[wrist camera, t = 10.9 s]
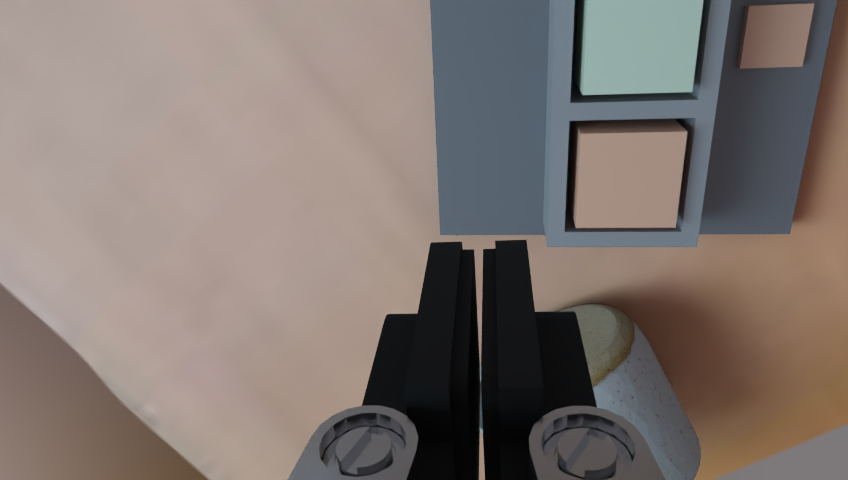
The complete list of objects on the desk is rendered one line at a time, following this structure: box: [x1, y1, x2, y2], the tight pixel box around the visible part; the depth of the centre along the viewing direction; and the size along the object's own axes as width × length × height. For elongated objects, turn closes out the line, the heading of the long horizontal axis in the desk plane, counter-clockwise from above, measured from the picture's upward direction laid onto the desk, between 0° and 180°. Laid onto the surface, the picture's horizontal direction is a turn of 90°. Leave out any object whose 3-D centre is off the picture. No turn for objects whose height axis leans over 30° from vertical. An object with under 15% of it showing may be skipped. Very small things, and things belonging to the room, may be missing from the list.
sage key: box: [574, 0, 703, 95], centre depth 24 cm, size 4×4×3 cm
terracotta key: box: [569, 118, 687, 228], centre depth 27 cm, size 4×4×3 cm
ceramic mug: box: [480, 304, 701, 480], centre depth 31 cm, size 11×8×8 cm
